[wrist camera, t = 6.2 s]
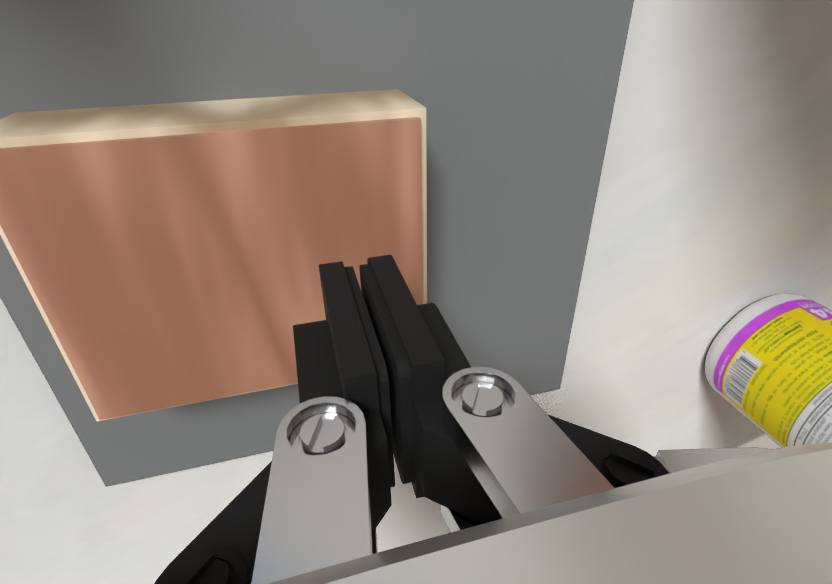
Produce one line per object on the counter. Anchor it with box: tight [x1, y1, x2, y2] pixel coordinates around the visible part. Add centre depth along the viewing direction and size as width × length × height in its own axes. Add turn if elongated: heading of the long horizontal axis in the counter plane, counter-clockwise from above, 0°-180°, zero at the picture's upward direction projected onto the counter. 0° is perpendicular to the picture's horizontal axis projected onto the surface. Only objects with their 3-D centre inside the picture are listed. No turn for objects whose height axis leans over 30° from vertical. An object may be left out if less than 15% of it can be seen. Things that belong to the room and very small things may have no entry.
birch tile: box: [0, 89, 427, 421], centre depth 14 cm, size 3×8×10 cm
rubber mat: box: [0, 0, 634, 487], centre depth 16 cm, size 20×20×1 cm
